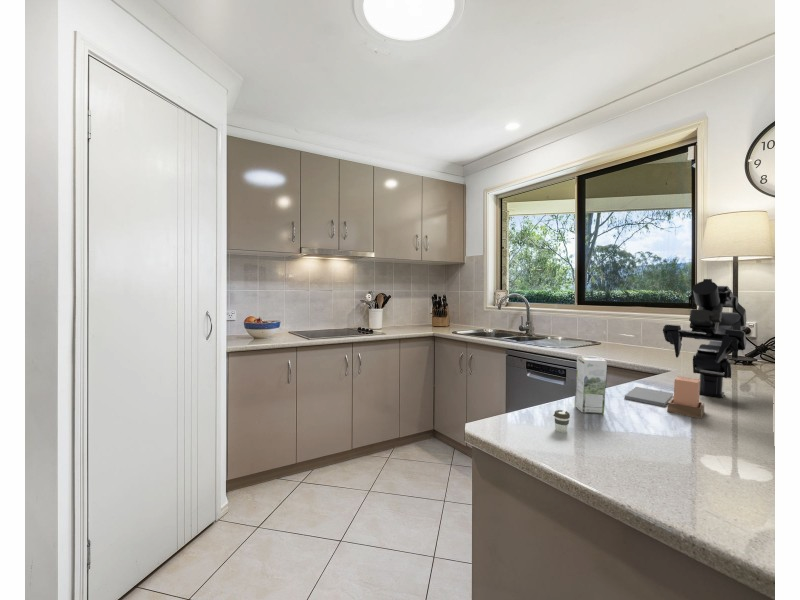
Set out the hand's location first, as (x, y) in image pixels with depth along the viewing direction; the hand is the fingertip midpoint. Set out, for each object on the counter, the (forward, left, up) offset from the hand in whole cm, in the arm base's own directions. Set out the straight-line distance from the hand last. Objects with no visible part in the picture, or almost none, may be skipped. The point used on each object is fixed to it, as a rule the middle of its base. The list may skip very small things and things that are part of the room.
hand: (696, 359), depth 109 cm
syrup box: (+26, -20, -14) cm, 35 cm away
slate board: (0, -11, -13) cm, 17 cm away
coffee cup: (+46, -20, -14) cm, 52 cm away
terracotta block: (+8, -1, -14) cm, 16 cm away
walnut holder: (+8, -1, -13) cm, 16 cm away
